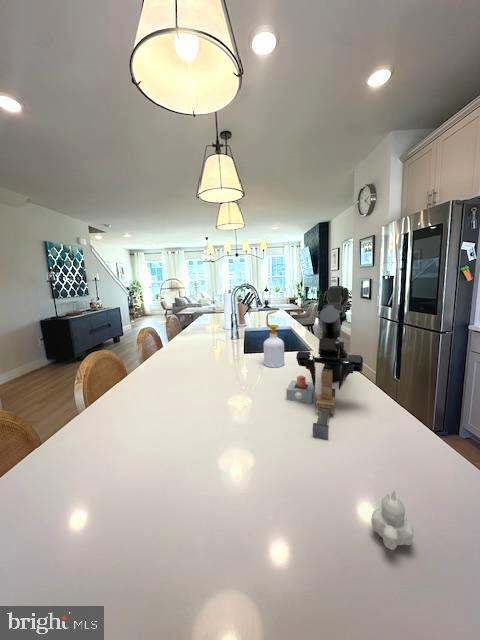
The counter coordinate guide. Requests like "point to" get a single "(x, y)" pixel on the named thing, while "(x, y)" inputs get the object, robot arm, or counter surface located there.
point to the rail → (322, 422)
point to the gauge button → (301, 382)
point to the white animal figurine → (392, 522)
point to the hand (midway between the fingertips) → (326, 387)
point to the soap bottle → (273, 347)
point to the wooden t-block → (326, 391)
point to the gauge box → (300, 392)
